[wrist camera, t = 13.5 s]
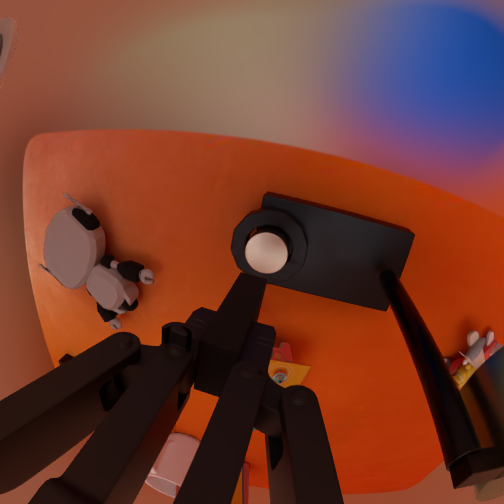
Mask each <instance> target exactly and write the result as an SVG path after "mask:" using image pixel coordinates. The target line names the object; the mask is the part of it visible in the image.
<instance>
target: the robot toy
mask: <svg viewBox="0 0 504 504" xmlns="http://www.w3.org/2000/svg"><path fill="white" fill-rule="evenodd" d="M63 194H64V197H66V198H67V199H70V200H71V201H72V202H74V203H75V204H77V205H78V206H77V205H72V206H70V207H67V208H65V209H63V210H60V211H59V212H57V213H56V215H55V216H54V217H53V219H52V220H51V222H50V224H49V226H48V228H47V230H46V235H45V241H44V260H45V263H46V266H47V268H45V267H44V266H43V265H42V264H38V265H39V267H40V268H43V269H44V270H45V271H47V272H48V273H50V274H51V275H52V276H54V277H55V278H56V279H57V280H58V281H59V282H60V283H61V284H62V285H63V286H64V287H67V288H70V289H78V288H80V287H81V286H82V285H84V284H85V283H86V289H87V291H88V293H89V294H90V295H92V296H93V297H94V298H95V300H96V301H97V310H98V312H99V314H100V315H101V317H102V318H103V320H104V322H108V321H109V324H110V326H111V327H112V328H113V329H115V330H116V329H120V328H121V326H122V323H121V321H120V319H118V318H117V317H116V316H117V314H118V313H119V314H123V313H125V312H126V311H133V310H135V309H136V308H137V306H138V300H137V297H138V296H139V289H138V288H137V286H136V285H135V283H138V282H139V281H140V280H141V281H142V282H143V283H144V284H148V285H151V284H152V283H153V282H154V279H153V278H154V276H155V275H154V272H153V271H151V270H149V269H144V265H142V264H139V263H136V262H134V261H131V260H130V261H124V262H117V261H115V260H114V256H111V255H108V254H105V255H104V252H105V246H106V241H105V233H104V231H103V228H102V226H101V225H100V222H99V220H98V219H97V218H96V216H95V215H94V214H93V213H92V211H93V210H91V209H90V208H86V207H85V206H83V205H82V204H80V203H79V202H77V201H76V200H75V199H73V198H72V197H70V195H69V194H67V193H63Z"/></svg>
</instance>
